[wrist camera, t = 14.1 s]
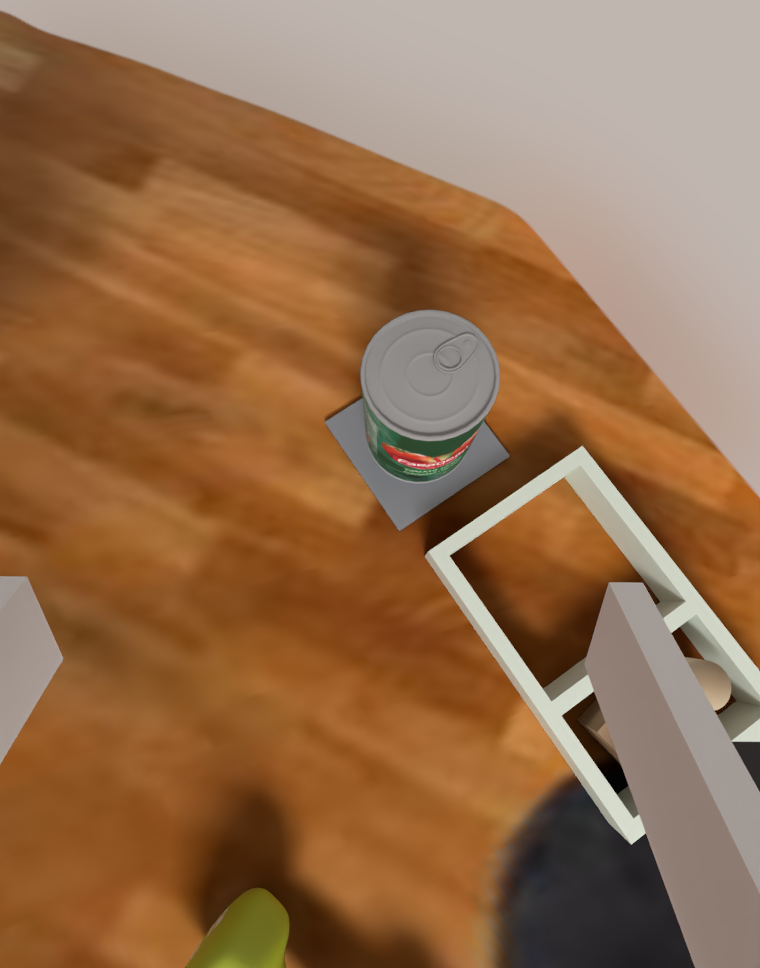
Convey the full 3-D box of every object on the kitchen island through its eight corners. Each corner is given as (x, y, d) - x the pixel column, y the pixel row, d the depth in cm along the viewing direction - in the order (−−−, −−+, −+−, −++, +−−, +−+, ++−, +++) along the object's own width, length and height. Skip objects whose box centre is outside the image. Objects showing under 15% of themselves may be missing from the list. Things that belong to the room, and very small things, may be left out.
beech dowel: (643, 671, 39) (672, 678, 35) (676, 646, 39) (708, 650, 35) (672, 709, 38) (704, 721, 35) (705, 683, 39) (741, 692, 35)
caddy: (424, 556, 41) (428, 551, 37) (566, 458, 42) (582, 445, 39) (608, 822, 37) (631, 844, 34) (757, 705, 38) (793, 714, 35)
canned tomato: (412, 505, 41) (422, 469, 30) (344, 426, 43) (330, 365, 32) (492, 438, 42) (529, 380, 32) (423, 363, 44) (436, 283, 33)
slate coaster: (325, 423, 43) (324, 422, 43) (432, 355, 44) (432, 353, 44) (399, 531, 41) (399, 530, 41) (509, 457, 42) (510, 456, 42)
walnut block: (575, 719, 38) (597, 732, 35) (614, 677, 39) (639, 684, 35) (620, 765, 38) (647, 783, 34) (659, 721, 38) (690, 734, 34)
